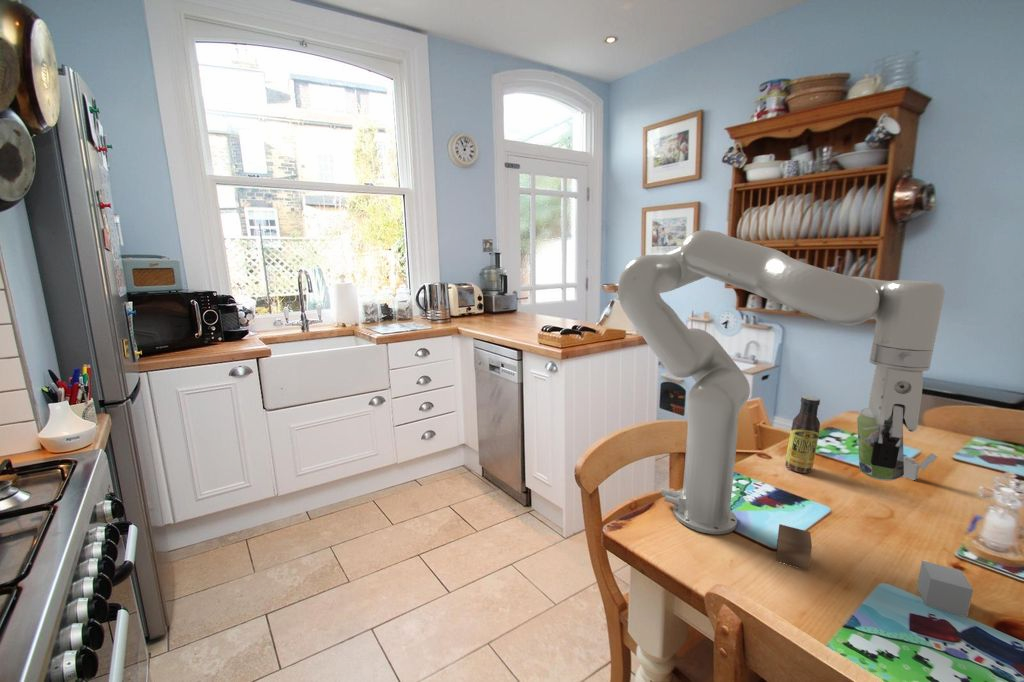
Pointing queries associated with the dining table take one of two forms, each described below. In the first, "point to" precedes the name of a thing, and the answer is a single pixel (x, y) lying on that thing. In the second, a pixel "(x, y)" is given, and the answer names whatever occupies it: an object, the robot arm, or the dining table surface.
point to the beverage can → (865, 445)
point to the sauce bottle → (804, 436)
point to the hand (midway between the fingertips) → (880, 460)
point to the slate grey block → (944, 588)
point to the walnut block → (794, 547)
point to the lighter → (916, 466)
